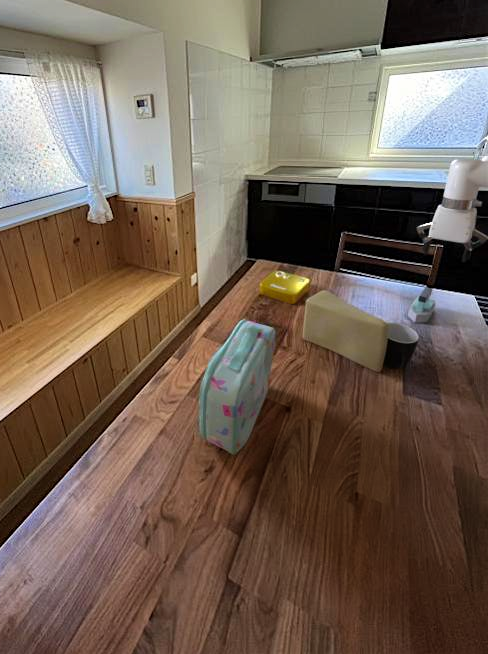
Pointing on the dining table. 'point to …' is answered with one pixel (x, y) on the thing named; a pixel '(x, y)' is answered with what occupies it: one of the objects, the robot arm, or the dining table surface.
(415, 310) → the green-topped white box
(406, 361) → the mug
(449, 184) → the robot arm
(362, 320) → the cheese
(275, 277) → the element tile
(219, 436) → the lunch box
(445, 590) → the dining table surface
